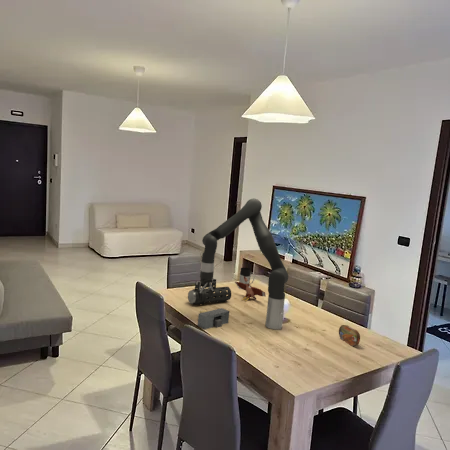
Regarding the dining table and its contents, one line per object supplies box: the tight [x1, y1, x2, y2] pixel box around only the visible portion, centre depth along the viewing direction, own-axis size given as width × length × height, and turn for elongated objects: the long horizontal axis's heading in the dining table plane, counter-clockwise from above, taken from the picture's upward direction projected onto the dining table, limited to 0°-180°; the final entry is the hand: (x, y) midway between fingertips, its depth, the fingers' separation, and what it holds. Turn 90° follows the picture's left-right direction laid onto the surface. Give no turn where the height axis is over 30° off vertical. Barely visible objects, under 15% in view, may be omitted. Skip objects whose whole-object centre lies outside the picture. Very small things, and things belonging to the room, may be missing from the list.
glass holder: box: [237, 267, 256, 291], centre depth 306 cm, size 9×14×15 cm, turn 40°
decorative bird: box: [234, 277, 267, 302], centre depth 278 cm, size 28×18×15 cm, turn 42°
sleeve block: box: [197, 307, 230, 330], centre depth 228 cm, size 6×18×7 cm, turn 135°
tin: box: [338, 324, 361, 347], centre depth 219 cm, size 15×3×8 cm, turn 21°
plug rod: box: [199, 309, 223, 329], centre depth 231 cm, size 16×4×4 cm, turn 38°
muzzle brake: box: [187, 286, 232, 306], centre depth 265 cm, size 10×28×10 cm, turn 123°
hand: (204, 297), depth 233 cm, fingers open, 8 cm apart
